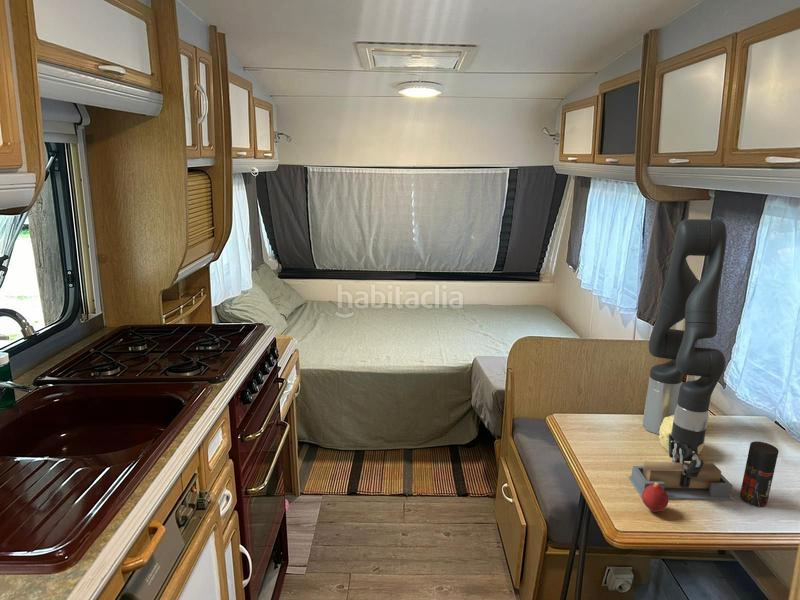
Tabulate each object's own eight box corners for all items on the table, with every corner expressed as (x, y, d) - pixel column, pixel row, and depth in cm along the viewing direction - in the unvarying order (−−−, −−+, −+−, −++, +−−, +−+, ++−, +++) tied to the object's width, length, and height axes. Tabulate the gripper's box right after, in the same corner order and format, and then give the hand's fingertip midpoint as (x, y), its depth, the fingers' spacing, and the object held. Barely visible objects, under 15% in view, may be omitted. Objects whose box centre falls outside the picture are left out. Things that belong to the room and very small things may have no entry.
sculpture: (655, 438, 169) (660, 406, 166) (698, 446, 165) (704, 413, 162) (658, 457, 159) (663, 423, 156) (704, 465, 155) (710, 431, 152)
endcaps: (628, 478, 148) (630, 464, 147) (713, 480, 148) (716, 466, 147) (641, 498, 139) (643, 484, 138) (732, 500, 139) (735, 486, 138)
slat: (641, 478, 145) (644, 461, 144) (710, 479, 145) (713, 462, 144) (648, 487, 141) (650, 470, 140) (718, 488, 141) (721, 471, 140)
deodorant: (741, 490, 143) (752, 438, 140) (768, 499, 140) (779, 446, 136) (737, 500, 139) (748, 448, 135) (765, 510, 135) (777, 456, 131)
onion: (658, 503, 137) (663, 475, 135) (670, 518, 132) (675, 489, 130) (636, 503, 137) (640, 476, 135) (646, 518, 132) (651, 489, 130)
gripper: (662, 409, 145) (653, 466, 150) (688, 436, 132) (678, 498, 136) (690, 409, 145) (681, 466, 150) (720, 436, 132) (708, 498, 136)
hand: (680, 481), depth 143 cm, fingers closed on slat, 4 cm apart
